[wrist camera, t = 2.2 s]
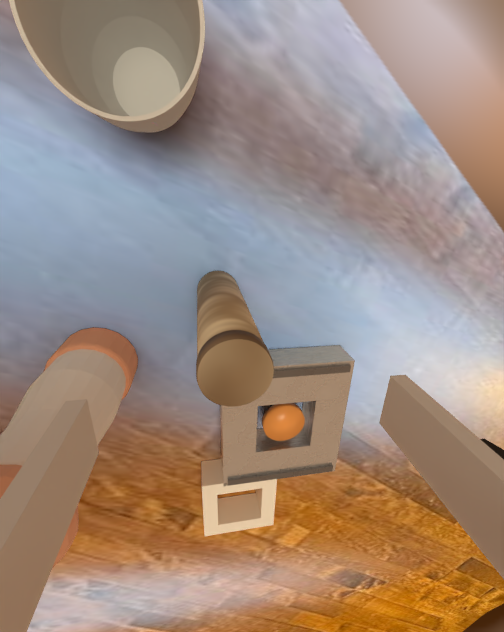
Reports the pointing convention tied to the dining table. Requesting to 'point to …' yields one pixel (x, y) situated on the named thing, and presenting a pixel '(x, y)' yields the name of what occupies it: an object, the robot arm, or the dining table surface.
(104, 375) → the salt shaker
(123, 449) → the dining table surface
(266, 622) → the dining table surface
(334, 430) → the grey square frame
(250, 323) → the brown wooden cylinder
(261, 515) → the holder
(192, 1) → the cup
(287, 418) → the button
